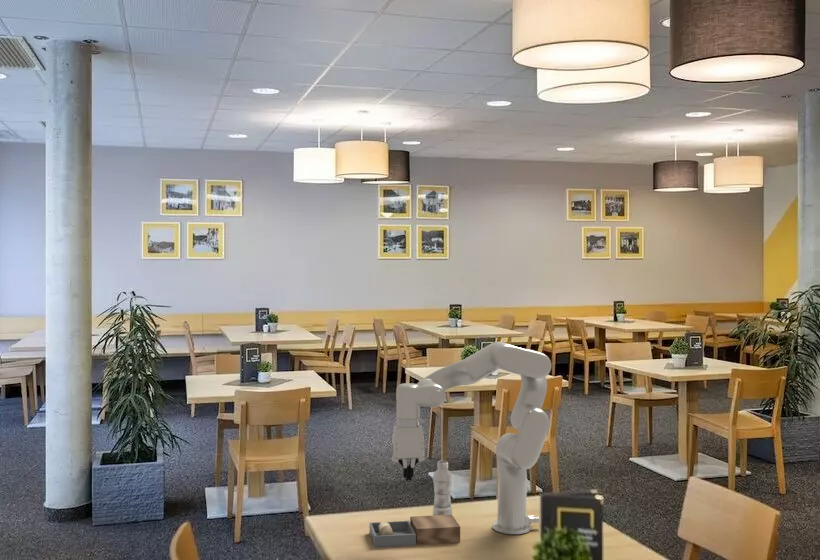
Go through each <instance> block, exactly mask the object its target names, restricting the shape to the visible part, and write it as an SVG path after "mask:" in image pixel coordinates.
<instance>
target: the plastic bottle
mask: <svg viewBox="0 0 820 560" xmlns="http://www.w3.org/2000/svg"><path fill="white" fill-rule="evenodd" d="M436 465H437V466H436V468H437V469H436V470H435V472H434V473H433V476H432V480H433V481H432V482H433V488H434V489H433V492H434V499H433V501H434V502H433V508H432V516H434V515H452V516H453V510H452V509H453V508H452V503H451V502H452V501H451V493H452V491H451V488H452V481H453V476H452V473H451V471H450V470H449V462H448V461H447V460H439V461H437V464H436Z"/></svg>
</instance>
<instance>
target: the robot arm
mask: <svg viewBox="0 0 820 560" xmlns="http://www.w3.org/2000/svg"><path fill="white" fill-rule="evenodd" d="M499 369H500V370H503V371H505V372H509V373H512V374H516V375H518V376H519V375H520V379H521V385H520V388H519V393H518V395H517V399H516V402H515V403H514V406H513V408H512V411H511V414H510V423H511V425H512V427H513V428H514V429H516V430H517V431H518V433H512V432H507V433H504V434H503V435H502V436H500V437H499V439H498V441H497V442H496V447H495V451H496V452H495V453H496V455H495V456H496V461H497V519H496V520H495V521H494V522H493V523H492V529H493V530H494V531H496V532H498V533H501V534H505V535H522V534H527V533H529V532H530V531H531V529H532V526H531V524H532V523H533V524H539V517H540V516H535V515H534V514H533V515H528V514H527V493H528V492H527V489H528V488H527V486H528V485H527V484H528V473H527V470H529V469H531V468H532V467H534V466H535V465H536V463H537V461H538V460H539V457H540V455H541V452H542V451H543V450H542V449H543V448H544V444H545V441H546V439H547V435H548V433H549V430H550V429H549V428H550V419H549V416H548V415H547V413H546V412H545V411H544V410H543V405H544V402H545V398H546V394H547V391H548V390H547V389H548V380H547V376H548V375H549V374H550V373H551V370H552V361H551V360H550V358H549V356H548V355H546V354H545V353H542V352H539V351H537V350H534V349H528V348H522V347H518V346H515V345H512V344H509V343H507V342H502V341H494V342H492V343H490V344H488V345H486V346H484V347H483V348H481V349H479V350H477V351H476V352H475V353H472V354H470V355H469V356H467V357H466V358H464V359H462V360H460V361H458V362H454V363H452V364H450V365H447V366H445V367H441V368H439V369H437V370H436V371H434V372H432V373H430V374H428V375H427V376H425V377H423V378H422V379H421V380H419V381H418V382H417V383H412V382H411V383H410V382H409V383H408V382H405V383H400V384H397V387H396V425H394V426H393V430H392V438H391V455H392V456H391V461H392V462H393V463H395V464H396V463H398V464H400V466H401V467H402V469H403V470H402V472H403V473H402V475H403V478H404V479H405V480H406V481H408V482H409V481H410V482H411V481H412V478H413V477H414V468H415V466H416V465H417V464H418V463H420V462H423V461H425V460H426V457H425V438H424V431H423V426H422V425H421V424H423V423H424V424H425V418H422V417H421V407H423V408H424V407H426V408H437V407H440V406H442V405H443V404H444V403H445V401H446V398H447V394H446V391H447V390H448V391H449V390H450V389H453V388H456V387H460V386H470V385H474V384H477V383H478V382H480V381H481V380H483V379H485V378H486V377H488V376H490V375H492V374H493V373H494V372H497V371H498V370H499ZM408 459H409V464H408V463H407V460H408Z"/></svg>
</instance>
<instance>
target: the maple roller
mask: <svg viewBox="0 0 820 560" xmlns="http://www.w3.org/2000/svg"><path fill="white" fill-rule="evenodd" d="M380 522H381V523H380V524H379V526H378V530H379V532H380V535H394V533H393V531H392V528H391V526H390V524H389V523H388V522H389V521H380Z"/></svg>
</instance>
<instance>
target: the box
mask: <svg viewBox="0 0 820 560" xmlns="http://www.w3.org/2000/svg"><path fill="white" fill-rule="evenodd" d="M381 522H382V521H379V522H378V521H377V522H369V536H370V538H371V541H373V542H372V545H373V547H374V548H375V549H376V548H391V547H392V548H393V547H394V548H395V547H410V546H417V544H416V533H415V531H414V530H413V528H412V526H411V524H410V520H400V521H399V520H398V521H396V520H395V521H393V520H392V521H387V522H388V523H389V524H390V526H391V528H392V531H393V533H394V535H380V532H379V530H378V526H379V524H380V523H381Z"/></svg>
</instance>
